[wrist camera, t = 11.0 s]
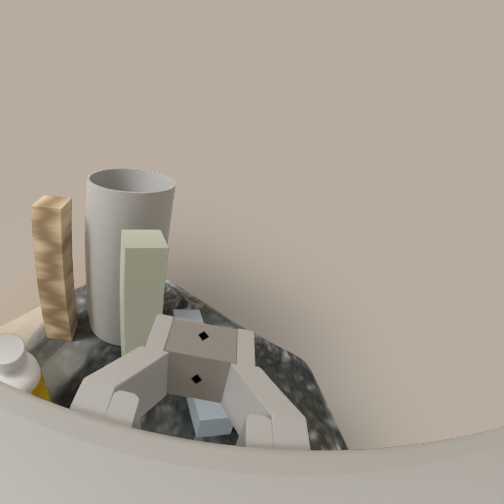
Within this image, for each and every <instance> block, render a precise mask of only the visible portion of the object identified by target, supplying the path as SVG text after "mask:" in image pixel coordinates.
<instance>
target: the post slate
mask: <svg viewBox="0 0 504 504" xmlns="http://www.w3.org/2000/svg"><path fill="white" fill-rule="evenodd" d="M172 316H173V317H178V318H182V319H187V320H192V321H196V322H201V323H204V322H203V319H202V316H201V313H200V310H183V309H173V315H172ZM186 398H187V403H188V407H189V411H190V414H191V418H192V422H193V426H194V430H195V433H196V437H197V438H198V437H208V436H217V435H226V434H231V431H232V428H233V425H232V423H231V421H230V419H229V418H228V416H227V414H226V413H225V411H224V409H223V408H222V406H221V403H217V402H212V401H206V400H201V399H196V398H190V397H186Z"/></svg>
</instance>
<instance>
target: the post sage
mask: <svg viewBox="0 0 504 504" xmlns="http://www.w3.org/2000/svg"><path fill="white" fill-rule="evenodd" d="M168 251H169V247H168V245H167V243H166V241H165V239H164V236H163V234H162V232H161V230H122V232H121V254H120V333H121V355H122V356H124V355H126V354H127V353H129V352H131V351H133V350H134V349H136V348H138V347H140V346H144V347H145V346H146V343H147V341H148V338H149V335H150V333H151V330H152V327H153V324H154V322H155V319H156V317H157V315H158V314H162V313H163V301H164V290H165V279H166V269H167V260H168Z"/></svg>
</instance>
